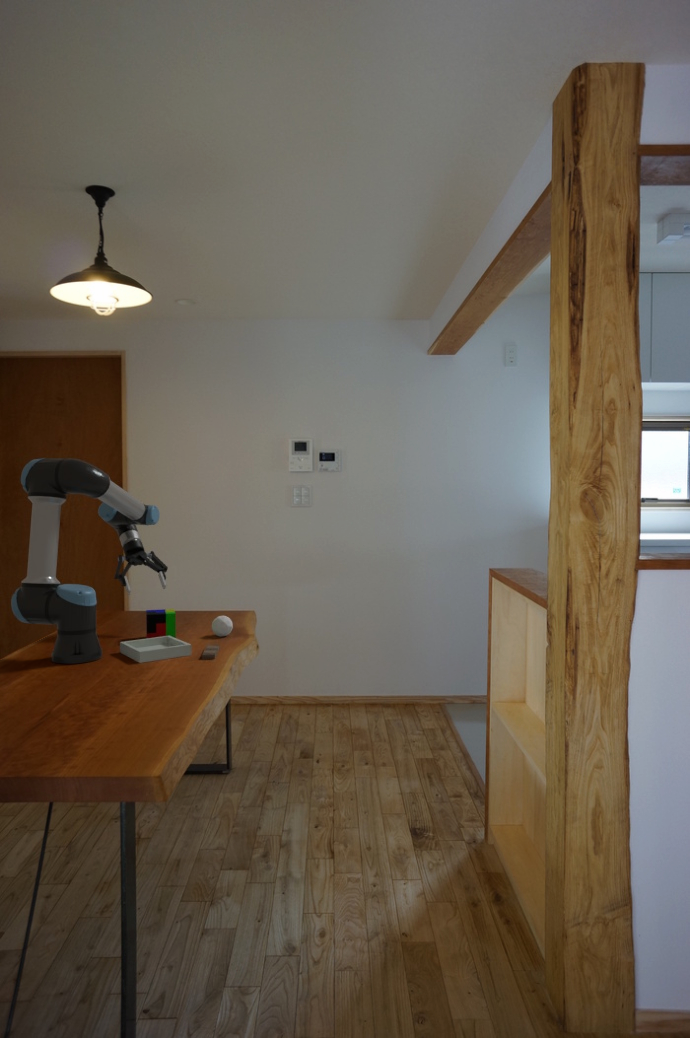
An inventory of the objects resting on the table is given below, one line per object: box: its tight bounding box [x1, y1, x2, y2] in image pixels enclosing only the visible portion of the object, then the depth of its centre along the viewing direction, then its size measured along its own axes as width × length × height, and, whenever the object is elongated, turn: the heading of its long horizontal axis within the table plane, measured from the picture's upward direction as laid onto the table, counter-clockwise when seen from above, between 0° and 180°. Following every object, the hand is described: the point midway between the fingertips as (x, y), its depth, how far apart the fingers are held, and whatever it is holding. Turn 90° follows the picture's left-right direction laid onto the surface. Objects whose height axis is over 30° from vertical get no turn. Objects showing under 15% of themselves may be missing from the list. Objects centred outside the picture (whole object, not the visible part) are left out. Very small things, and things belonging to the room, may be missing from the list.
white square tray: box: [119, 636, 192, 664], centre depth 222 cm, size 17×17×4 cm
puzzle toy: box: [145, 608, 177, 639], centre depth 245 cm, size 10×10×10 cm
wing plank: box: [201, 644, 220, 660], centre depth 222 cm, size 14×4×2 cm, turn 5°
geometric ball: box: [211, 615, 234, 638], centre depth 250 cm, size 8×8×8 cm
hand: (147, 589), depth 251 cm, fingers open, 13 cm apart
